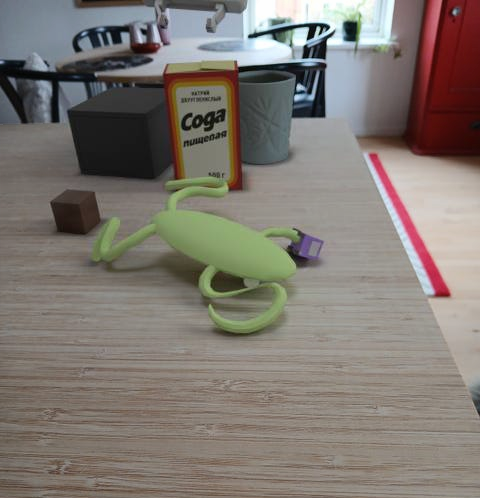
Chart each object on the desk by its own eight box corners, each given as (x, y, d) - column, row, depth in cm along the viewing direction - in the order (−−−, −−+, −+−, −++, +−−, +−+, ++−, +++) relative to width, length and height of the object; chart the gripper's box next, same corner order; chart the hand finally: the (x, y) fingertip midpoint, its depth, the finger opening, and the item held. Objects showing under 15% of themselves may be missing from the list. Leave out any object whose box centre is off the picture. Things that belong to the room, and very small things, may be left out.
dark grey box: (121, 144, 92) (111, 86, 86) (187, 148, 89) (182, 88, 83) (80, 173, 81) (66, 110, 75) (154, 179, 78) (145, 113, 72)
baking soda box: (176, 192, 73) (162, 70, 64) (179, 175, 79) (166, 60, 69) (242, 189, 73) (238, 66, 64) (240, 172, 79) (236, 57, 69)
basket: (152, 118, 101) (147, 76, 97) (207, 121, 99) (204, 77, 94) (110, 148, 87) (101, 100, 83) (173, 152, 85) (167, 102, 80)
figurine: (194, 202, 70) (190, 162, 67) (362, 266, 55) (368, 219, 52) (77, 254, 60) (66, 209, 56) (245, 350, 45) (242, 297, 41)
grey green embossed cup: (227, 165, 81) (223, 83, 74) (237, 144, 89) (234, 69, 82) (291, 166, 80) (293, 83, 73) (295, 145, 88) (297, 68, 81)
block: (57, 231, 65) (49, 201, 62) (73, 217, 68) (66, 189, 65) (85, 234, 64) (78, 204, 61) (101, 220, 67) (94, 191, 64)
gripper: (142, -59, 93) (126, 13, 93) (251, -54, 90) (235, 21, 89) (154, -33, 100) (139, 35, 99) (256, -27, 96) (241, 44, 95)
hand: (185, 28), depth 94 cm, fingers open, 8 cm apart
